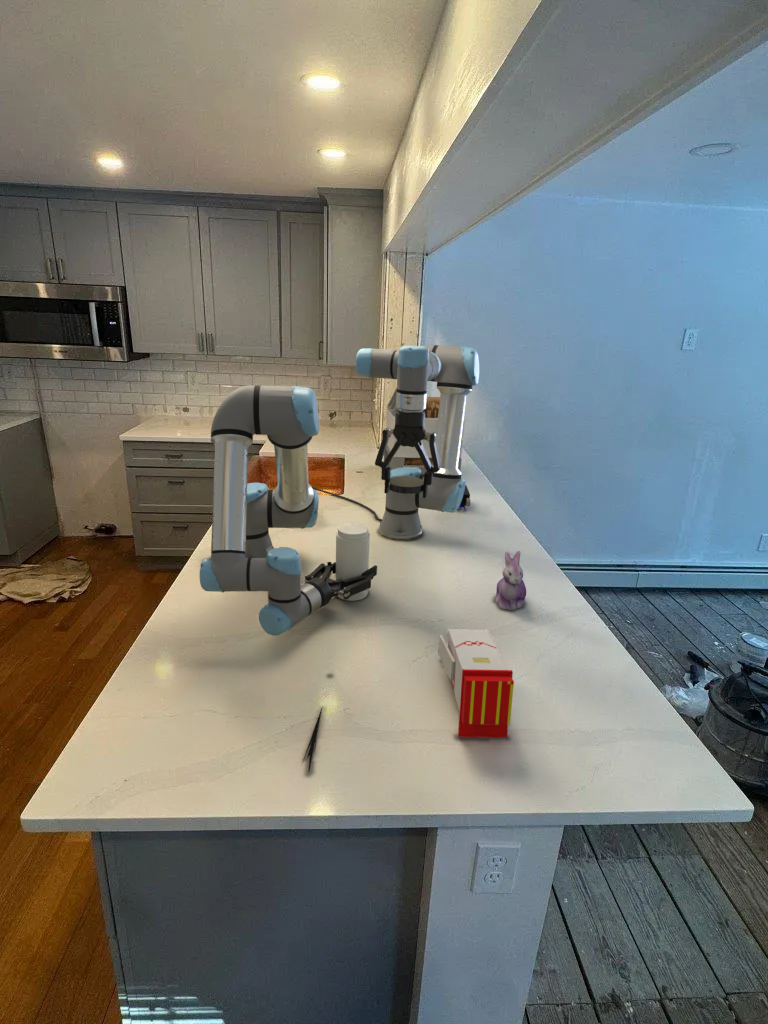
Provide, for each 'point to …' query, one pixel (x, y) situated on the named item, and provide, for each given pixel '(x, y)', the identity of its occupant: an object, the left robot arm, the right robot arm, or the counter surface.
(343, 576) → the jar
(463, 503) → the figurine character
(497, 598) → the figurine
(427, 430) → the light grey slatted crate
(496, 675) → the toy
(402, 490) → the lid
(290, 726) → the counter surface
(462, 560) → the counter surface
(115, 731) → the counter surface
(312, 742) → the feather
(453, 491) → the right robot arm
